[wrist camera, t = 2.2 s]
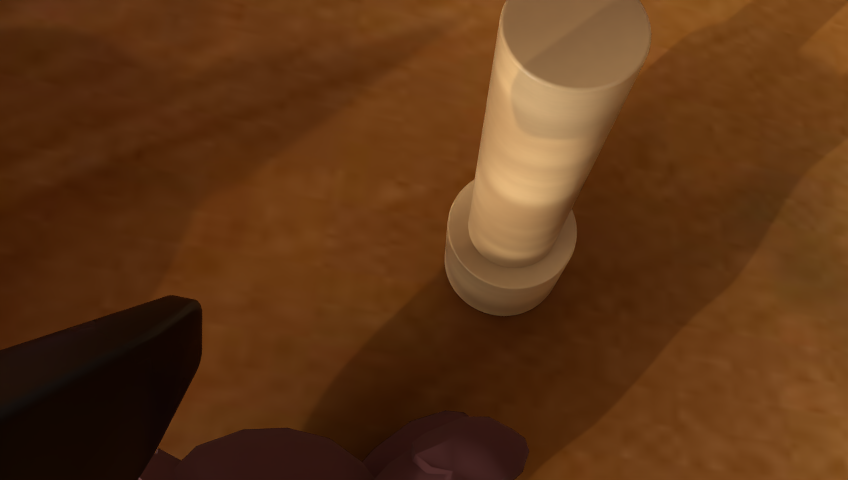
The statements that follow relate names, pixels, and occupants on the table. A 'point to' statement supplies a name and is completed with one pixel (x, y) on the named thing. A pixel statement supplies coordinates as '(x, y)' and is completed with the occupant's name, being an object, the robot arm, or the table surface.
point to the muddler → (540, 145)
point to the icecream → (342, 472)
